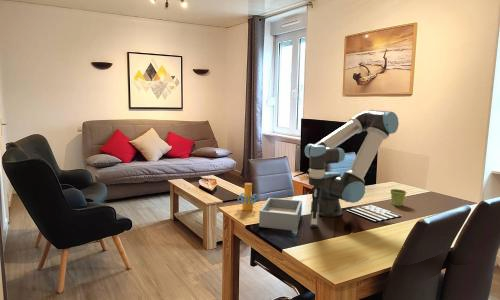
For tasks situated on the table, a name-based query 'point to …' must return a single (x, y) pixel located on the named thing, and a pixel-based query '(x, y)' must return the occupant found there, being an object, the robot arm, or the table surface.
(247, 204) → the yellow and blue post
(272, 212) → the box
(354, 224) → the table surface
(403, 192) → the plant pot
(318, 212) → the peg
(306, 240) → the table surface
